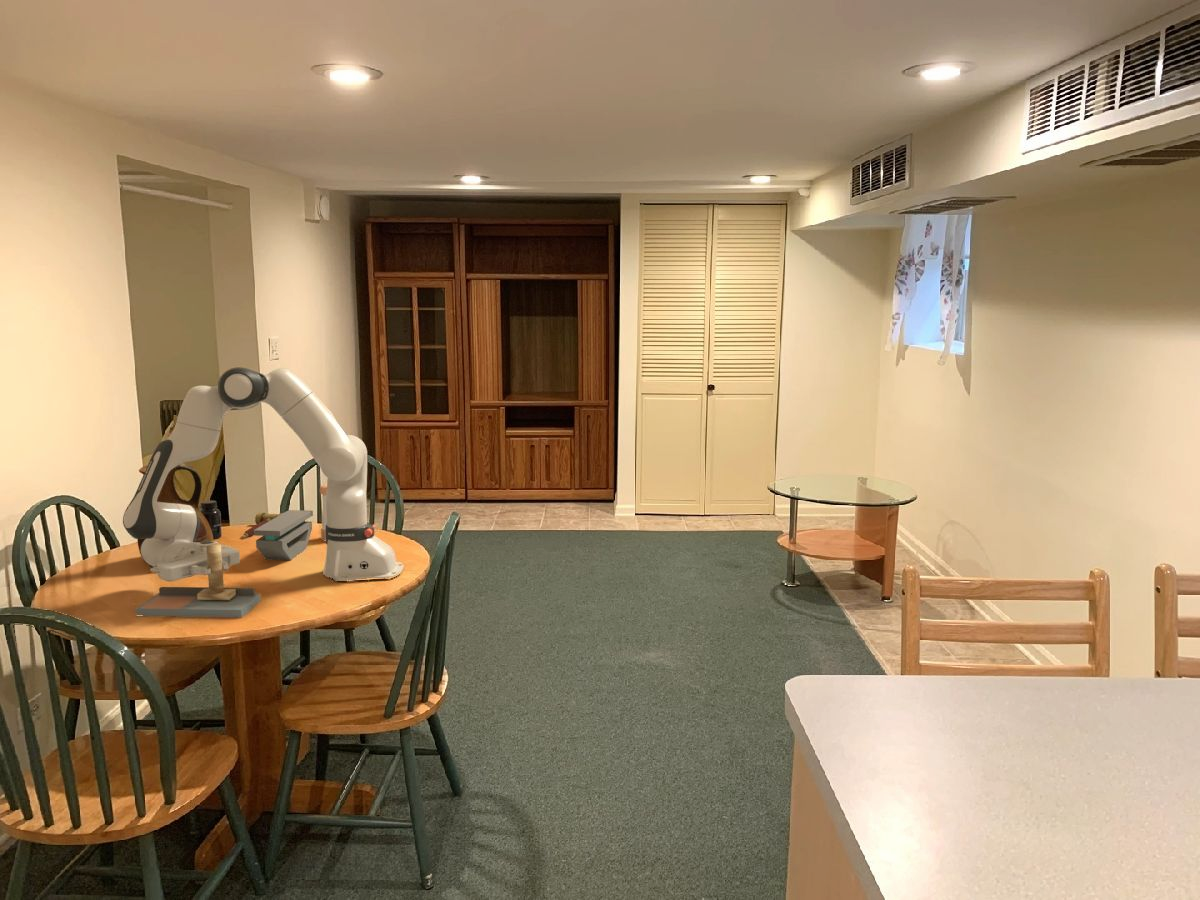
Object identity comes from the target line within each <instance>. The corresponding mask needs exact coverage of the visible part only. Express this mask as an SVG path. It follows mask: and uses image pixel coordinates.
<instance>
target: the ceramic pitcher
mask: <svg viewBox="0 0 1200 900" xmlns="http://www.w3.org/2000/svg"><path fill="white" fill-rule="evenodd" d="M147 466H148V464H147V465H145V466H142V467H140V468H139V469H138V472H139V473H141V475H144V473H145V470H146V468H147ZM181 470H182V471H183V470H184V471H188V472H189V473H191V475H192V477H193V481H194V490H193V493H192V496H191V498H190V499H189V500H186V499H183V498H181V497H180V496H179V494H178V493H177V490H176V487H175V483H174V482H175V481H174V476H175V475H174V474H175V472H177V471H181ZM202 484H203V483H202V478H201V477H200V475H199V473H198V471H196V470H195V468H193V466H191V465H189V464H187V463H182V464H180V465H177V466H176V467H174V468H173V469H172V470H171V471H170V472H169V473H168V475H167V477H166V480H165V482H164V484H163V487H162V489H161V491H160V494H159V496H158V498H157V502H165V503H176V504H184V505H190V506H192V507H193V508H194V509H195V510H196V512H197V514H198V516H199V519H200V528H199V533H198V535H197V538H196V540H195V542H197V543H200V542H211V541H214V539H213V534H212V531H211V528H210V525H209V523H208V521H207V519H206V518H205V517H204V515H203V514H202V513H201V512H200V509H199V504H200V500H201V493H202V488H203V487H202ZM136 540H137V546H138V551H139V554H140V557H141V559H142V561H144V562H146V561H145V560H144V559H143V557H142V555H141V545H142V543H143V542H144V540H145V539H136ZM146 563H147V562H146Z"/></svg>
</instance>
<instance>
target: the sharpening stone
mask: <svg viewBox="0 0 1200 900" xmlns="http://www.w3.org/2000/svg"><path fill="white" fill-rule="evenodd" d="M312 516H314V511H313V510H305V509H304V510H303V509H302V510H299V509H298V510H297V509H288V510H287V511H285V512H283V514H281V515H279V516H278V517H276V518H274V519H272V520H271V521H269V522H267V523H265V524H264V525H262V526H260V527H258V528H257V529H255V530H254V535H253V536H255V537H257V536H260V537H259V538H257V539H255V547H256V549H257V550H258V552H260V554H261V556H262V557H263V558H264V559H265V560H267V561H271V560H272V561H292V560H294V559H295V558H296V557H297V555H298V556H299V555H300V553H301V554H302V553H303V552H305V551H306V550H307V548H308V545H309V541H310V537H311V534H312V533H311V532H312V530H313V521H307V520H308V519H309V518H311V517H312ZM305 549H306V550H305ZM304 550H305V551H304ZM293 558H294V559H293Z"/></svg>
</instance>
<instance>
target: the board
mask: <svg viewBox="0 0 1200 900" xmlns="http://www.w3.org/2000/svg"><path fill="white" fill-rule="evenodd" d="M203 589H209V586H208V587H205V586H204V587H201V586H198V587H195V586H194V587H193V586H191V587H190V586H186V587H185V586H160V587H159V589H158V590H159V592H158V593H157V594H155V595H153V596H152V597H150V598H149V599H148V600H146V601H145V602H143V603H142V604H140V605H139V606H138V607H135V616H136V615H143V616H142V617H144V616H176V617H175V618H243V617H245V615H246V614H248V613H249V612H250V611H251V610H252V609H253V608H254V607H255V606H256V605H258V604H259V603H260V602H261V593H256V591H255V587H224V589H236V595H235V596H234V597H233V598H231V599H230V600H198V599H197V594H198V593H199V592H200V591H202V590H203Z"/></svg>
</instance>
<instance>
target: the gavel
mask: <svg viewBox="0 0 1200 900" xmlns="http://www.w3.org/2000/svg"><path fill="white" fill-rule="evenodd" d="M283 513H284V512H283ZM283 513H281V512H280V513H266V512H260V511H259V512H257V513H256V515H255V517H254V519H255V520H254V521H255V525H254V526H252V527H250V528H248V529H247V530H245V532H244V533H243V535H242V537H241V538H243V539H248V538H251V537H253V536H255V535H254V530H255V529H257V528H258V527H260V526H262V525H264V524H265V523H267V522H269V521H271V520H272V519H274V518H276V517H278V516H279V515H281V514H283Z"/></svg>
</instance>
